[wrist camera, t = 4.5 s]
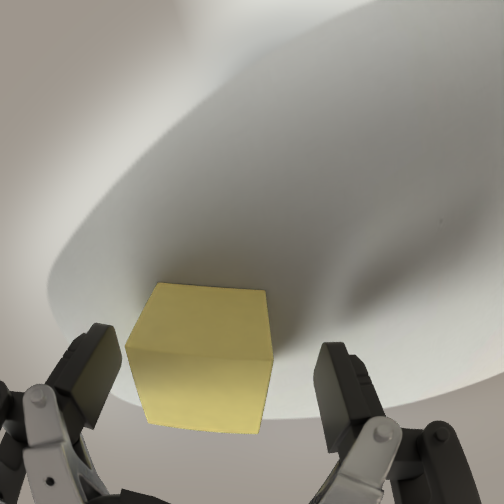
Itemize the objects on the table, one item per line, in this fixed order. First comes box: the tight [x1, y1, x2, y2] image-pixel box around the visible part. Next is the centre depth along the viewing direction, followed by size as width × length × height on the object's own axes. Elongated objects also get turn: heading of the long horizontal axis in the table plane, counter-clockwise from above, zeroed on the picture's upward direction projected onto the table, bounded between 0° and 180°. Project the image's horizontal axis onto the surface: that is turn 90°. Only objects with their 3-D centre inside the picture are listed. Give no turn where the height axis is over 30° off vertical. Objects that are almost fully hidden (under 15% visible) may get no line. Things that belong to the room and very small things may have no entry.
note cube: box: [125, 283, 274, 434], centre depth 10 cm, size 4×4×4 cm
